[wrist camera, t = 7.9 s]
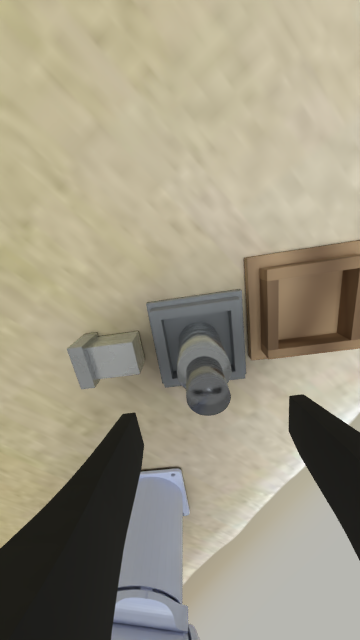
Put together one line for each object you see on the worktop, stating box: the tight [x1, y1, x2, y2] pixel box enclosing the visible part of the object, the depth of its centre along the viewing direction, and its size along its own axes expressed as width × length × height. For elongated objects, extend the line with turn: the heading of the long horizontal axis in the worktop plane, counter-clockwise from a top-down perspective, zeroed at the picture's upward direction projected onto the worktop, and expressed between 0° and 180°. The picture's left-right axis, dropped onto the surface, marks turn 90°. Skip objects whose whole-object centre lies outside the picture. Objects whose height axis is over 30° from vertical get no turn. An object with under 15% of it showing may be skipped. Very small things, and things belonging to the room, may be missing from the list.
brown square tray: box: [244, 240, 360, 360], centre depth 16 cm, size 9×9×2 cm
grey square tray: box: [146, 289, 246, 388], centre depth 18 cm, size 8×8×2 cm
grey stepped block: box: [67, 331, 145, 389], centre depth 18 cm, size 5×4×3 cm
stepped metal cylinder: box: [177, 322, 232, 416], centre depth 15 cm, size 4×4×8 cm
